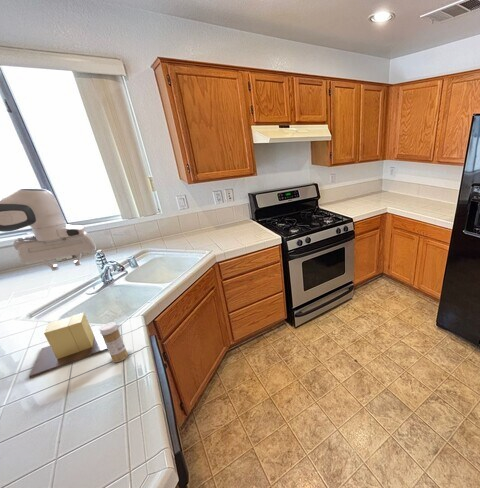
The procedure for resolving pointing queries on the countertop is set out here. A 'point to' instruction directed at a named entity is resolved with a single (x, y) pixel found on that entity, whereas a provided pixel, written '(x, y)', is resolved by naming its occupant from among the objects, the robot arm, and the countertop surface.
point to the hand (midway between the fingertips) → (67, 267)
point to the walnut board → (50, 362)
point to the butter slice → (81, 331)
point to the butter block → (61, 338)
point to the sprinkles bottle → (113, 341)
